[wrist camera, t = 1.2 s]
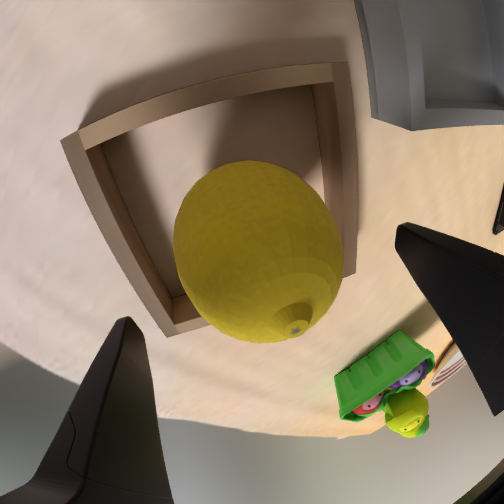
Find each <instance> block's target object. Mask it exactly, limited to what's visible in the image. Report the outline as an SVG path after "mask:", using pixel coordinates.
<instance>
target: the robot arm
mask: <svg viewBox="0 0 504 504" xmlns="http://www.w3.org/2000/svg"><path fill="white" fill-rule="evenodd" d="M503 230H504V189H503V194H502V198H501V203H500V207H499V211H498V214H497V218H496V222H495V225H494V229H493V234H494V235H497V234H498V233H500V232H501V231H503ZM395 249H396V251H397V253H398V255H399V256H400V258H401V259H402V261H403V263H404V264H405V266H406V268H407V269H408V271H409V273H410V274H411V276H412V278H413V279H414V281H415V283H416V284H417V286H418V287H419V289H420V290H421V291H422V293H423V294H424V296H425V297H426V299H427V300H428V301H429V303H430V304H431V306H432V307H433V309H434V310H435V312H436V313H437V315H438V316H439V318H440V319H441V321H442V322H443V324H444V326H445V327H446V329H447V330H448V332H449V333H450V335H451V337H452V338H453V340H454V342H455V343H456V345H457V347H458V348H459V350H460V352H461V353H462V355H463V357H464V359H465V360H466V362H467V364H468V366H469V368H470V369H471V371H472V373H473V375H474V377H475V379H476V381H477V383H478V385H479V387H480V388H481V390H482V393H483V395H484V397H485V399H486V401H487V403H488V405H489V407H490V409H491V412H492V413H493V415H494V416H496V415H498V414H499V413H500V412H502V411H503V410H504V256H503V255H501V254H498V253H496V252H495V253H494V252H493V251H491V250H488V249H486V248H483V247H480V246H478V245H475V244H472V243H469V242H467V241H464V240H461V239H458V238H455V237H453V236H450V235H447V234H444V233H441V232H438V231H435V230H432V229H429V228H426V227H422V226H419V225H416V224H413V223H410V222H406V223H403V224H400V225H399V226H398V227H397V231H396V239H395ZM0 504H174V501H173V498H172V494H171V490H170V485H169V481H168V476H167V472H166V467H165V462H164V457H163V451H162V446H161V440H160V433H159V427H158V420H157V413H156V405H155V397H154V388H153V380H152V375H151V370H150V365H149V360H148V355H147V349H146V343H145V338H144V335H143V333H142V331H141V330H140V329H139V327H138V326H137V325H136V323H135V322H134V321H133V319H132V318H131V317H129V316H126V317H123V318H120V319H118V320H117V321H116V322H115V324H114V326H113V327H112V329H111V331H110V332H109V334H108V336H107V338H106V339H105V341H104V343H103V345H102V346H101V348H100V350H99V352H98V353H97V355H96V357H95V359H94V361H93V362H92V364H91V366H90V368H89V370H88V372H87V373H86V375H85V377H84V379H83V381H82V383H81V385H80V387H79V389H78V391H77V393H76V395H75V396H74V398H73V401H72V402H71V404H70V407H69V410H68V411H67V413H66V415H65V417H64V419H63V421H62V423H61V425H60V427H59V429H58V432H57V433H56V435H55V437H54V439H53V441H52V443H51V445H50V446H49V448H48V450H47V452H46V454H45V456H44V458H43V459H42V461H41V463H40V465H39V467H38V469H37V471H36V473H35V474H34V476H33V477H32V479H31V480H30V481H29V482H27V483H26V484H25V485H23V486H21V487H19V488H17V489H15V490H13V491H11V492H9V493H7V494H5V495H2V496H0ZM453 504H504V459H503V460H502V461H501V462H500V463H499V464H498V465H497V466H496V467H495V468H494V469H493V470H492V471H491V472H490V473H489V474H488V475H487V476H485V478H483V479H482V480H481V481H480V482H479V483H478V484H477V485H475V486H474V487H473V488H472V489H471V490H470V491H468V492H467V493H466V494H465V495H464V496H462V497H461V498H460V499H458V500H457V501H456V502H455V503H453Z"/></svg>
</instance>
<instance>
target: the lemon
mask: <svg viewBox="0 0 504 504" xmlns="http://www.w3.org/2000/svg"><path fill="white" fill-rule="evenodd" d="M173 253H174V258H175V263H176V267H177V271H178V275H179V279H180V281H181V284H182V286H183V288H184V290H185V292H186V294H187V295H188V297H189V298H190V300H191V302H192V303H193V305H194V306H195V308H196V310H197V311H198V313H199V314H200V315H201V316H202V317H203V318H204V319H205V320H206V321H207V322H209V323H210V324H211V325H212V326H213V327H215V328H216V329H217V330H219V331H220V332H222V333H224V334H227V335H229V336H231V337H234V338H236V339H239V340H243V341H249V342H255V343H273V342H279V341H283V340H287V339H290V338H295V337H298V336H300V335H302V334H303V333H304V332H305V331H307V330H308V329H309V328H311V327H312V326H313V325H315V324H316V323H317V322H318V321H319V320H320V319H321V318H322V317H323V316H324V315H325V313H326V312H327V311H328V309H329V308H330V306H331V305H332V303H333V301H334V300H335V298H336V296H337V293H338V290H339V288H340V285H341V282H342V278H343V269H344V252H343V246H342V242H341V237H340V233H339V230H338V227H337V225H336V223H335V220H334V218H333V217H332V215H331V213H330V212H329V210H328V208H327V207H326V205H325V204H324V202H323V201H322V199H321V197H320V196H319V195H318V194H317V192H316V191H315V190H314V189H313V188H312V187H311V186H309V185H308V184H307V183H306V182H305V181H303V180H302V179H301V178H299V177H298V176H297V175H296V174H294V173H293V172H291V171H289V170H287V169H284V168H282V167H279V166H277V165H274V164H272V163H269V162H261V161H251V160H245V161H238V162H232V163H228V164H225V165H223V166H221V167H218V168H216V169H214V170H211V171H210V172H209V173H207V174H206V175H205V176H204V177H202V178H201V179H200V180H198V181H197V182H196V183H195V185H194V186H193V187H192V189H191V190H190V191H189V192H188V194H187V195H186V196H185V198H184V200H183V202H182V205H181V207H180V209H179V212H178V214H177V217H176V220H175V227H174V236H173Z"/></svg>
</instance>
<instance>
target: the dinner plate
mask: <svg viewBox="0 0 504 504" xmlns="http://www.w3.org/2000/svg"><path fill="white" fill-rule="evenodd" d="M466 363H467V362H466V360H465V359H464V357H463V355H462V353H461V352H460V350H459V348H458V347H457V345H456V343H455V342H454V343H453V345H452V346H451V347H450V348H449V350H448V351H447V352H446V354H445V355H444V357H443V358H442V360H441V363H440V365H439V366H438V368H437V370H436V371H435V373H434V375H433V377H432V380H431V382H430V385H429V388H433V387H436V386H437V385H439V384H441V383H442V382H444V381H445V380H447V379H448V378H449V377H451V376H452V375H453V374H455V373H456V372H457V371H458V370H459V369H461V368H462V367H463V366H464V365H465V364H466Z"/></svg>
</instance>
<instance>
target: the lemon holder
mask: <svg viewBox="0 0 504 504" xmlns="http://www.w3.org/2000/svg"><path fill="white" fill-rule="evenodd" d="M308 84H311V85H312V91H313V97H314V104H315V111H316V118H317V126H318V134H319V142H320V151H321V161H322V171H323V182H324V195H325V205H326V207H327V208H328V210H329V212H330V213H331V215H332V217H333V218H334V220H335V223H336V225H337V227H338V230H339V233H340V237H341V242H342V246H343V252H344V269H343V278H345V277H347V276H350V275H352V274H355V273H356V257H357V233H358V172H357V148H356V132H355V120H354V109H353V99H352V90H351V82H350V75H349V68H348V62H336V63H315V64H304V65H294V66H286V67H278V68H271V69H265V70H259V71H253V72H247V73H242V74H237V75H233V76H228V77H223V78H219V79H215V80H211V81H207V82H203V83H199V84H196V85H192V86H189V87H185V88H182V89H179V90H175V91H172V92H169V93H166V94H163V95H160V96H157V97H154V98H151V99H149V100H146V101H143V102H141V103H138V104H135V105H133V106H130V107H128V108H125V109H123V110H120V111H118V112H116V113H113V114H111V115H109V116H107V117H104V118H102V119H100V120H98V121H96V122H94V123H91V124H89V125H87V126H85V127H83V128H81V129H79V130H77V131H76V132H74V133H72V134H70V135H68V136H67V137H65V138H63V139H62V140H60V142H61V144H62V147H63V149H64V152H65V155H66V157H67V160H68V162H69V164H70V167H71V169H72V172H73V174H74V176H75V179H76V181H77V183H78V185H79V188H80V190H81V192H82V194H83V196H84V198H85V201H86V203H87V205H88V207H89V209H90V211H91V213H92V215H93V217H94V219H95V221H96V223H97V225H98V227H99V229H100V231H101V232H102V234H103V236H104V238H105V240H106V242H107V244H108V245H109V247H110V249H111V251H112V253H113V254H114V256H115V258H116V260H117V261H118V263H119V265H120V267H121V268H122V270H123V272H124V273H125V275H126V277H127V278H128V280H129V282H130V283H131V285H132V287H133V288H134V290H135V291H136V293H137V295H138V296H139V298H140V299H141V301H142V302H143V304H144V305H145V307H146V308H147V310H148V311H149V313H150V314H151V316H152V317H153V319H154V320H155V322H156V323H157V325H158V326H159V328H160V329H161V330H162V332H163V333H164V335H165V336H166V337H171V336H174V335H178V334H181V333H185V332H188V331H191V330H195V329H198V328H201V327H205V326H208V325H211V324H210V323H209V322H207V321H206V320H205V319H204V318H203V317H202V316H201V315H200V314H199V313H198V311H197V310H196V308H195V306H194V305H193V303H192V302H191V300H190V298H189V297H188V295H187V294H186V295H183V296H180V297H177V298H174V299H172V298H171V296H170V294H169V292H168V290H167V289H166V287H165V285H164V283H163V281H162V279H161V277H160V276H159V274H158V272H157V270H156V268H155V266H154V264H153V262H152V260H151V258H150V256H149V254H148V252H147V250H146V248H145V246H144V244H143V242H142V240H141V238H140V236H139V234H138V232H137V230H136V228H135V226H134V223H133V221H132V219H131V217H130V215H129V213H128V210H127V208H126V206H125V204H124V201H123V199H122V197H121V195H120V192H119V190H118V188H117V185H116V183H115V180H114V178H113V176H112V173H111V171H110V168H109V166H108V163H107V161H106V158H105V155H104V153H103V150H102V147H101V145H100V143H102V142H104V141H106V140H108V139H111V138H113V137H115V136H118V135H120V134H122V133H125V132H127V131H130V130H132V129H135V128H137V127H140V126H143V125H145V124H148V123H151V122H153V121H156V120H159V119H162V118H165V117H168V116H171V115H174V114H177V113H180V112H183V111H186V110H190V109H193V108H197V107H200V106H204V105H207V104H211V103H215V102H218V101H222V100H226V99H231V98H235V97H239V96H244V95H248V94H253V93H258V92H263V91H269V90H274V89H280V88H287V87H293V86H300V85H308Z"/></svg>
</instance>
